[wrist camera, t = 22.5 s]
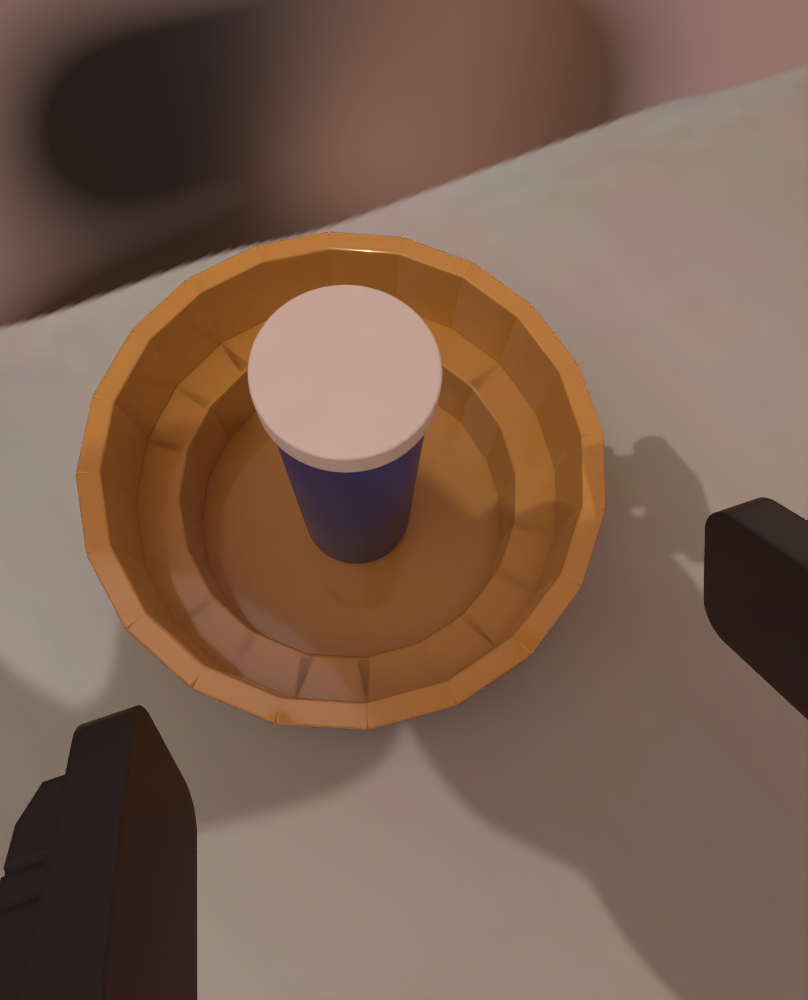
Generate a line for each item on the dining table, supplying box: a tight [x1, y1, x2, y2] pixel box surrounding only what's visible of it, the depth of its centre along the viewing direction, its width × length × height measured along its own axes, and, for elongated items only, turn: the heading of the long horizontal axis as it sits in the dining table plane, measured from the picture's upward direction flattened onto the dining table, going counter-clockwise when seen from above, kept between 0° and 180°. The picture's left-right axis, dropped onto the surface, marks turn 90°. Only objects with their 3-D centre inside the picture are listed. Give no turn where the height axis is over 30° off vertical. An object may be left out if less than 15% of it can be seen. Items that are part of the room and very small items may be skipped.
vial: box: [248, 285, 443, 564], centre depth 18 cm, size 4×4×10 cm
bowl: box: [76, 232, 605, 730], centre depth 20 cm, size 13×13×6 cm
